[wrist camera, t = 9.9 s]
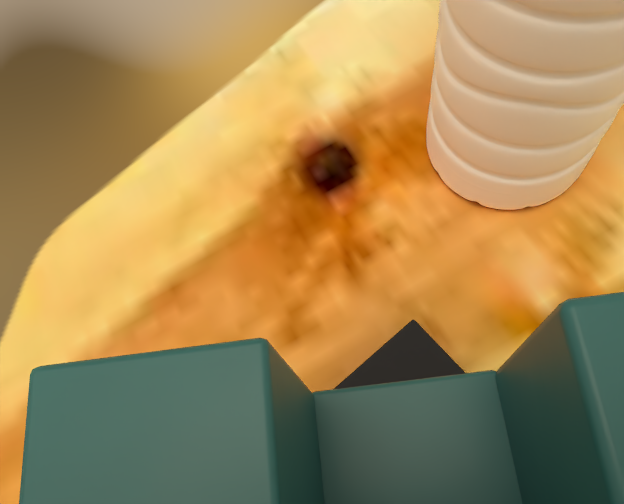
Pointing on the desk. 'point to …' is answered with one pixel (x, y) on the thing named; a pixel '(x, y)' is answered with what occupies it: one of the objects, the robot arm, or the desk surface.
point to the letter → (335, 427)
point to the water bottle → (522, 95)
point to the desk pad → (404, 360)
